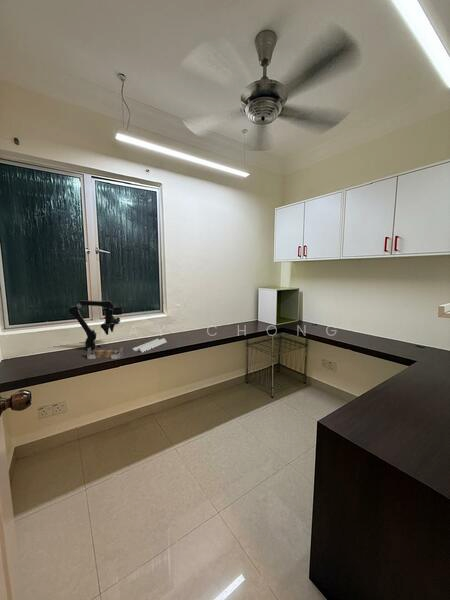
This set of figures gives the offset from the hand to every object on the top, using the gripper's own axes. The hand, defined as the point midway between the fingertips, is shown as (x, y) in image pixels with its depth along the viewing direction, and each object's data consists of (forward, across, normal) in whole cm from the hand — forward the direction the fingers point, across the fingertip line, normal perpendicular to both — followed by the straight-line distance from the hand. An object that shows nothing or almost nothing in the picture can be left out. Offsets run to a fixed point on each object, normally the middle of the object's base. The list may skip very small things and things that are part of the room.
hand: (109, 333), depth 210 cm
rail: (+12, -23, -6) cm, 27 cm away
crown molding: (+13, +3, -33) cm, 36 cm away
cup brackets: (+12, -23, -6) cm, 27 cm away
